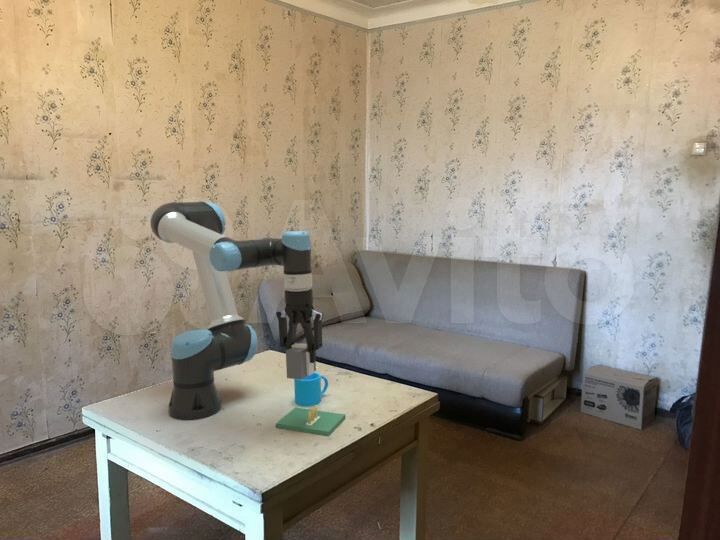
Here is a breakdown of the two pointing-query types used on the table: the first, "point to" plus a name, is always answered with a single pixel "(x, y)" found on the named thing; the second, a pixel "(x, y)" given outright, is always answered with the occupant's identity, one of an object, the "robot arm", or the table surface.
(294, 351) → the grey block with band
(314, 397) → the mug
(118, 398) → the table surface
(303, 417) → the board
